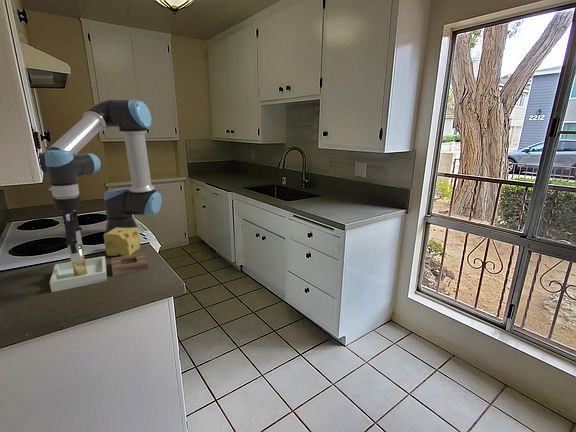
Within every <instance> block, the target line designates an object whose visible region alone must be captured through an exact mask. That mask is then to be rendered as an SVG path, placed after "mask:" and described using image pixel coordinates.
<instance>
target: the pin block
mask: <svg viewBox="0 0 576 432" xmlns="http://www.w3.org/2000/svg"><path fill="white" fill-rule="evenodd" d="M110 262H111V271H112V277H117V276H122V275H127V274H132V273H136V272H142V271H148V270H149V265H148V261H147V258H146V256H145V252H140V253H134V254H132V255H128V256H117V257H111V259H110Z"/></svg>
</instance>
